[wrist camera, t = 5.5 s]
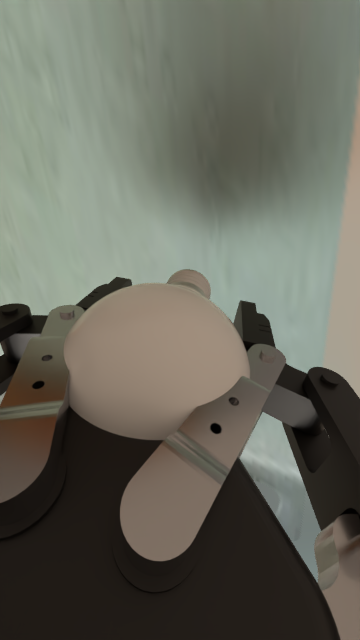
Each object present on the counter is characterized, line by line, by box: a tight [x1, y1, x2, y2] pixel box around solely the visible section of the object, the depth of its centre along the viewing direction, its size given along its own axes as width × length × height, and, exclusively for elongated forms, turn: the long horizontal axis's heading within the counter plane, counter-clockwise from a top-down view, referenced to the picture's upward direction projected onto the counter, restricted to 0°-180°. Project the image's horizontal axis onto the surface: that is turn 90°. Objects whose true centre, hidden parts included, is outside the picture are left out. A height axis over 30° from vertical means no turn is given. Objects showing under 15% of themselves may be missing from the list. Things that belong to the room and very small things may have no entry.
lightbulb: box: [64, 269, 250, 440], centre depth 10 cm, size 6×6×11 cm
